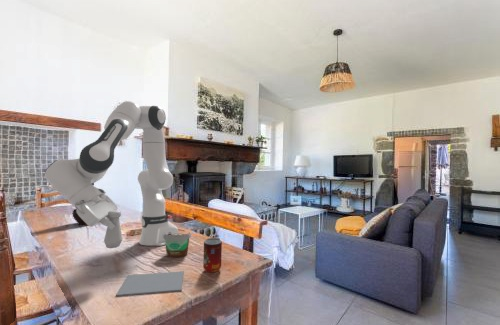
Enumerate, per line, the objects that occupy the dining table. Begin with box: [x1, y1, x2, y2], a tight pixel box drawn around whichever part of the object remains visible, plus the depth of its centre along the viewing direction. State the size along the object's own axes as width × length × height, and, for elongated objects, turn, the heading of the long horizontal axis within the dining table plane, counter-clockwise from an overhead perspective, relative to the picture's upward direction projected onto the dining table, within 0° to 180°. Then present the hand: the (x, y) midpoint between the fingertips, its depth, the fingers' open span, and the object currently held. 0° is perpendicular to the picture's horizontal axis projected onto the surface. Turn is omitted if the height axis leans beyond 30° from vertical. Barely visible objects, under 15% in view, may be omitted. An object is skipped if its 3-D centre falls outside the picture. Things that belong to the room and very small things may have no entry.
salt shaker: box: [103, 209, 123, 249], centre depth 89 cm, size 6×6×13 cm
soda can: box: [203, 237, 223, 275], centre depth 97 cm, size 7×7×12 cm
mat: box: [115, 270, 185, 297], centre depth 86 cm, size 20×14×1 cm
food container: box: [164, 232, 192, 259], centre depth 111 cm, size 12×6×10 cm, turn 105°
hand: (115, 225), depth 89 cm, fingers closed on salt shaker, 3 cm apart
